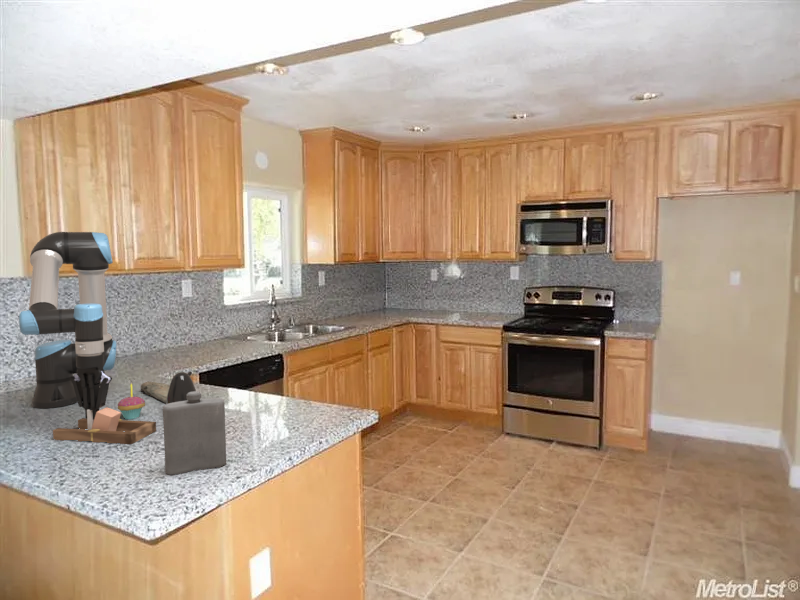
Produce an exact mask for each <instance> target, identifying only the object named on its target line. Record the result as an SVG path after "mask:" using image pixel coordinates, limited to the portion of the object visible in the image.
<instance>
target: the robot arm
mask: <svg viewBox="0 0 800 600" xmlns="http://www.w3.org/2000/svg"><path fill="white" fill-rule="evenodd" d="M112 257H113V256H112V251H111V245H110V240H109V237H108V234H106V233H104V232H96V231H95V232H94V231H56V232H52V233H49V234H48V235H46V236H44V237H42V238H41V239H40V240H39V241H38V242H37V243H36V244H35V245H34V246H33V247H32V249H31V251H30V255H29V263H30V265H31V266H32V271H31V272H32V273H31V283H30V294H29V303H28V304H29V305H28V309H27V310H22V311H20V313H19V316H18V323H19V331H20V333H21V334H22V335H25V336H28V335H29V336H31V335H32V336H33V335H35V336H40V335H50V334H52V335H53V334H66V333H67V334H68V333H74V337H75V339H74V343H72V342H73V341H72V340H71V339H61V340H53V341H50V342H45V343H42V344H39V345H37V346H36V347H35V349H34V362H35V363H34V364H35V365H34V366H35V378H36V387H35V389H34V393H33V397H32V398H31V406H32V408H35V409H51V408H52V409H54V408H60V407H66V406H69V405H73V404H75V403H77V405H78V407H79V408H83V409H84V412H85V413H84V415H85V418H86V419H87V424H88V430H91V429H92V426H93V422H94V419H95V415H96V412H97V411H100V408H102V407H105V406H106V402H107V397H108V392H109V386H110V384H111V382H112V380H113V377H112V376H110V375H109V376H108V375H107V374H105V371H111V370H113V369H114V367H115V365H116V357H117V356H116V355H117V346H118V345H117V344H118V343H117V340H115V339H113V336H112V335H111V334H110V333H108V318H107V301H106V300H107V297H106V279H105V277H106V276H105V274H106V272H107V271H108V270H109V269H110V267H109V265H111V264H113V258H112ZM63 265H72V270H74V271H75V272H76V273H77V280H78V293H79V304H75V306H74V307H73V308H61V309H60V308H59V307H58V305H59V304H58V303H59V282H60V281H59V280H60V279H59V278H60V268H62V266H63Z"/></svg>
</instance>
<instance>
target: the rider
mask: <svg viewBox="0 0 800 600" xmlns="http://www.w3.org/2000/svg"><path fill="white" fill-rule="evenodd" d="M121 414H122V413H121V411H120V410H116V409H112V408H109V407H105V408H102V409H99V411H97V412H96V415H95V419H94V422H93V426H92V429H100V430H104V431H116V429H117V426H118V422H119V419H121V416H122V415H121ZM92 429H91V430H92Z"/></svg>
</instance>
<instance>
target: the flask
mask: <svg viewBox="0 0 800 600" xmlns="http://www.w3.org/2000/svg"><path fill="white" fill-rule="evenodd" d="M186 397H187V400H186V401H179V402H173V403H169V404H166V403H165V404H164V405H163V406H162V419H163V421H162V422H163V441H164V442H163V443H164V445H163V447H164V467H165V469H164V470H165V473H166V474H167V475H169V476H174V475H175V474H177V475H181V474H184V472H185V473H188V471H190V472H194V471H193V470H195V471H200V470H199V469H201V470H207V469H206V468H209V469H216V468H215V467H219V468H222V467H224V466H225V465H226V464H227V446H226V445H227V443H226V442H227V440H226V439H227V438H226V437H227V436H226V412H225V411H226V410H225V407H226V406H225V399H223V398H221V397H207V398H202V392H200V391H199V390H196V391H193V392H189V393H188V394H187V395H186ZM223 465H224V466H223ZM221 466H222V467H221ZM180 473H181V474H180ZM175 476H176V475H175Z"/></svg>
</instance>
